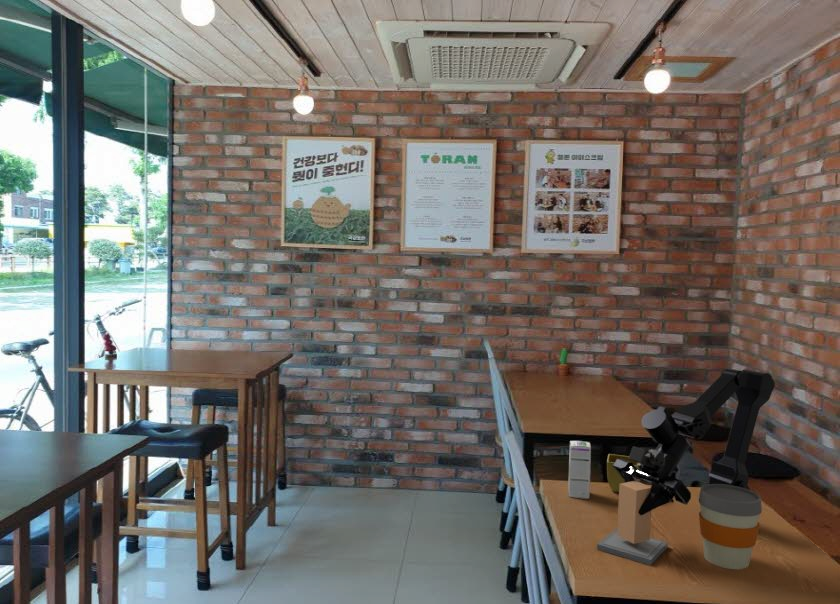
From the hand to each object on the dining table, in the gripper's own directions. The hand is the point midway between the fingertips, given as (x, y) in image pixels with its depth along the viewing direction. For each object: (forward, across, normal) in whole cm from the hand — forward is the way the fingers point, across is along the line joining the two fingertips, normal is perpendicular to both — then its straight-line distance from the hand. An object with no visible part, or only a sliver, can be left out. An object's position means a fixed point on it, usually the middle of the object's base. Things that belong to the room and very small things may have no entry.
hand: (630, 509), depth 148 cm
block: (+4, 0, +6) cm, 7 cm away
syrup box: (-4, -32, +17) cm, 36 cm away
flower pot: (-14, -30, +27) cm, 42 cm away
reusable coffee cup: (-5, +13, +18) cm, 23 cm away
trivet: (+6, 0, +7) cm, 9 cm away
